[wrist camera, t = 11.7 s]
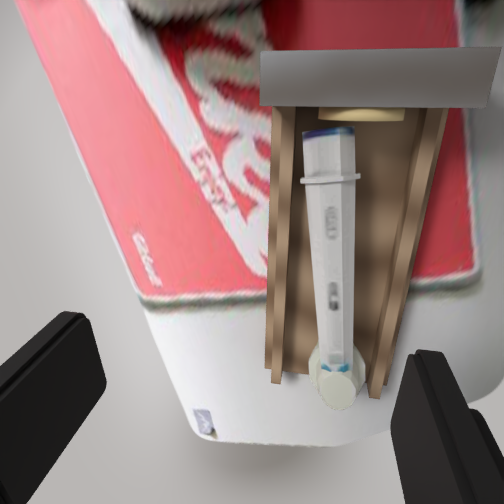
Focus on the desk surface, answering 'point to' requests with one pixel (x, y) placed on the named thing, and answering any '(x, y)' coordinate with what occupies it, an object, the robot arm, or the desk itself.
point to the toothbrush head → (333, 262)
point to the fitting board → (358, 182)
